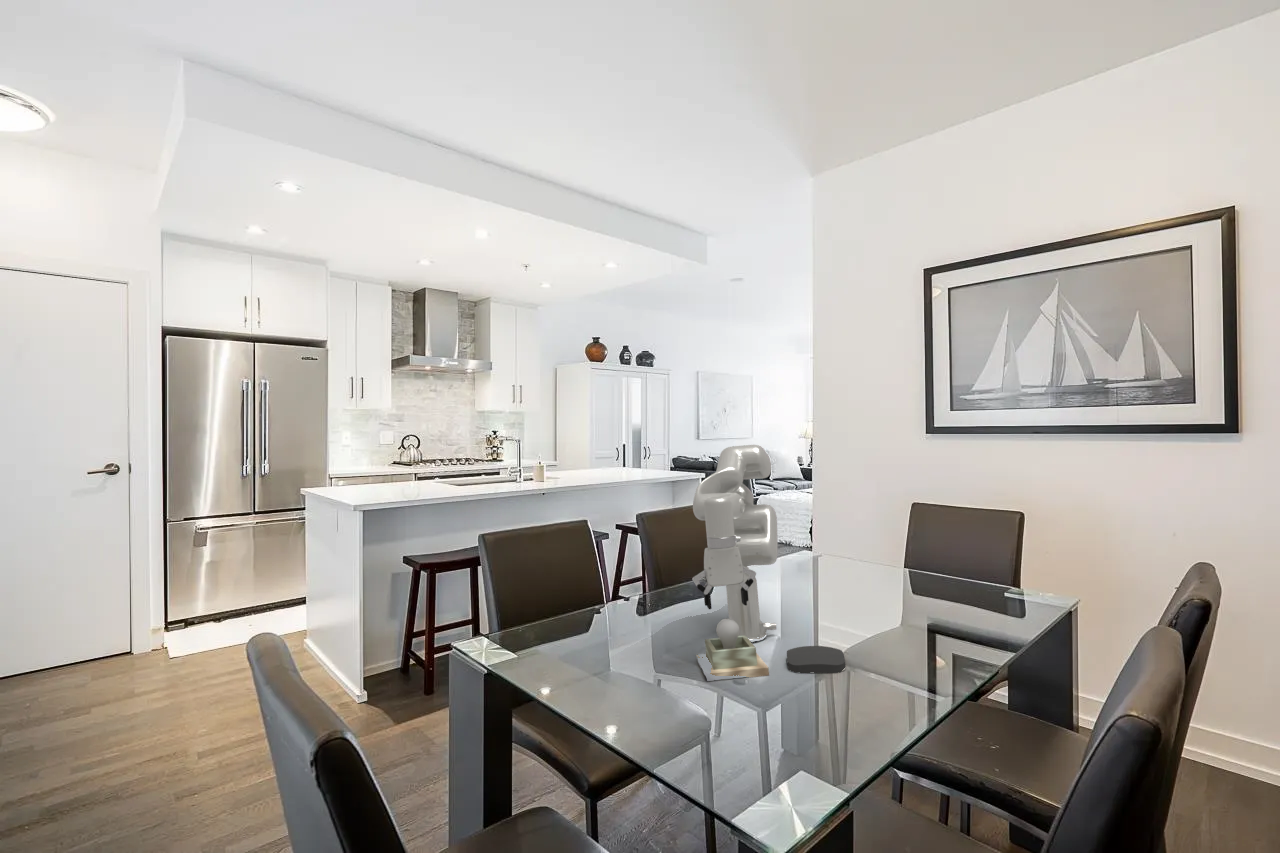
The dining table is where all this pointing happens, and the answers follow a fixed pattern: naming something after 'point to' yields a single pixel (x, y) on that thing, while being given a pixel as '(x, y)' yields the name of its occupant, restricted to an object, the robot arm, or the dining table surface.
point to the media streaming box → (815, 659)
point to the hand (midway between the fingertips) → (726, 606)
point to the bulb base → (735, 659)
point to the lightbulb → (728, 633)
